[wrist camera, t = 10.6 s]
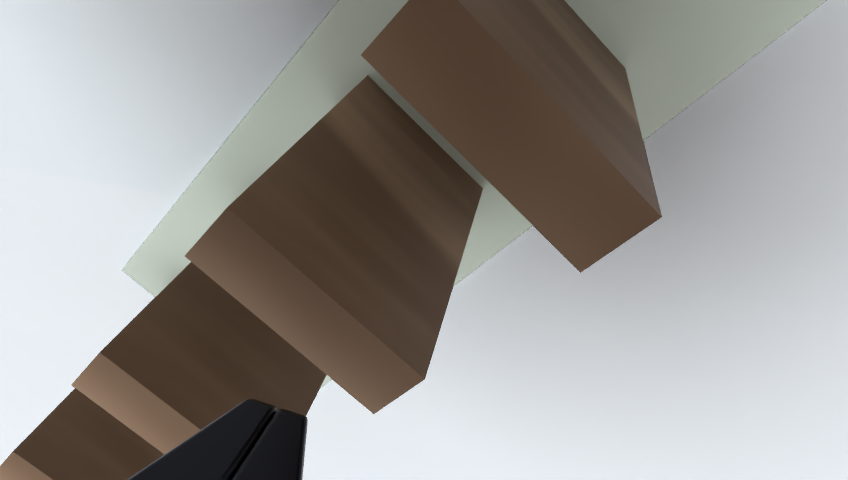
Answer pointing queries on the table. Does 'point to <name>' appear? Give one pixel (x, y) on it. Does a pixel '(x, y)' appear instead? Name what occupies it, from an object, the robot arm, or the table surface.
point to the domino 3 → (350, 245)
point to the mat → (495, 216)
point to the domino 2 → (195, 364)
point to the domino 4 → (529, 113)
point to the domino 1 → (79, 446)
